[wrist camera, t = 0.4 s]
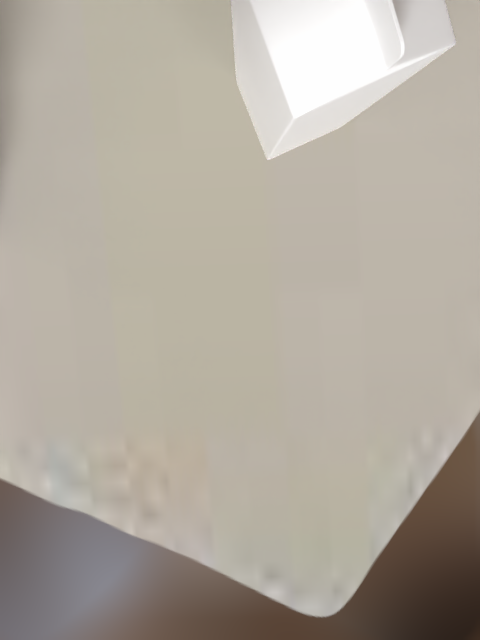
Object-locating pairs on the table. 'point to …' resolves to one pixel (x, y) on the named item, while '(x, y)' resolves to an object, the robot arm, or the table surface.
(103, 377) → the table surface
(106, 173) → the table surface
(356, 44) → the milk
